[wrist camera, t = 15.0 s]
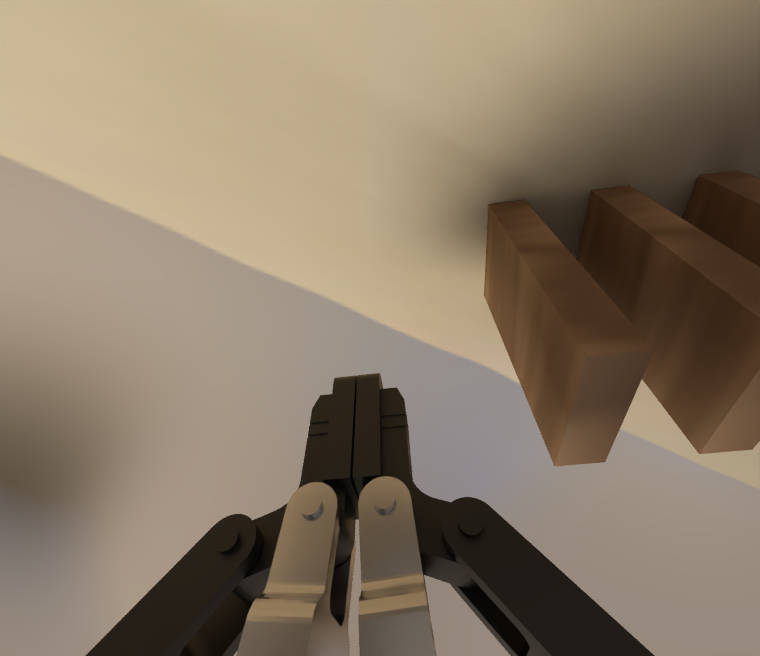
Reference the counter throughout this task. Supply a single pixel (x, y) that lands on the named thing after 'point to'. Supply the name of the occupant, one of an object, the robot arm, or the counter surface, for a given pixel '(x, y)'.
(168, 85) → the counter surface
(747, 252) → the domino
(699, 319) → the domino
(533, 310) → the domino
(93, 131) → the counter surface
